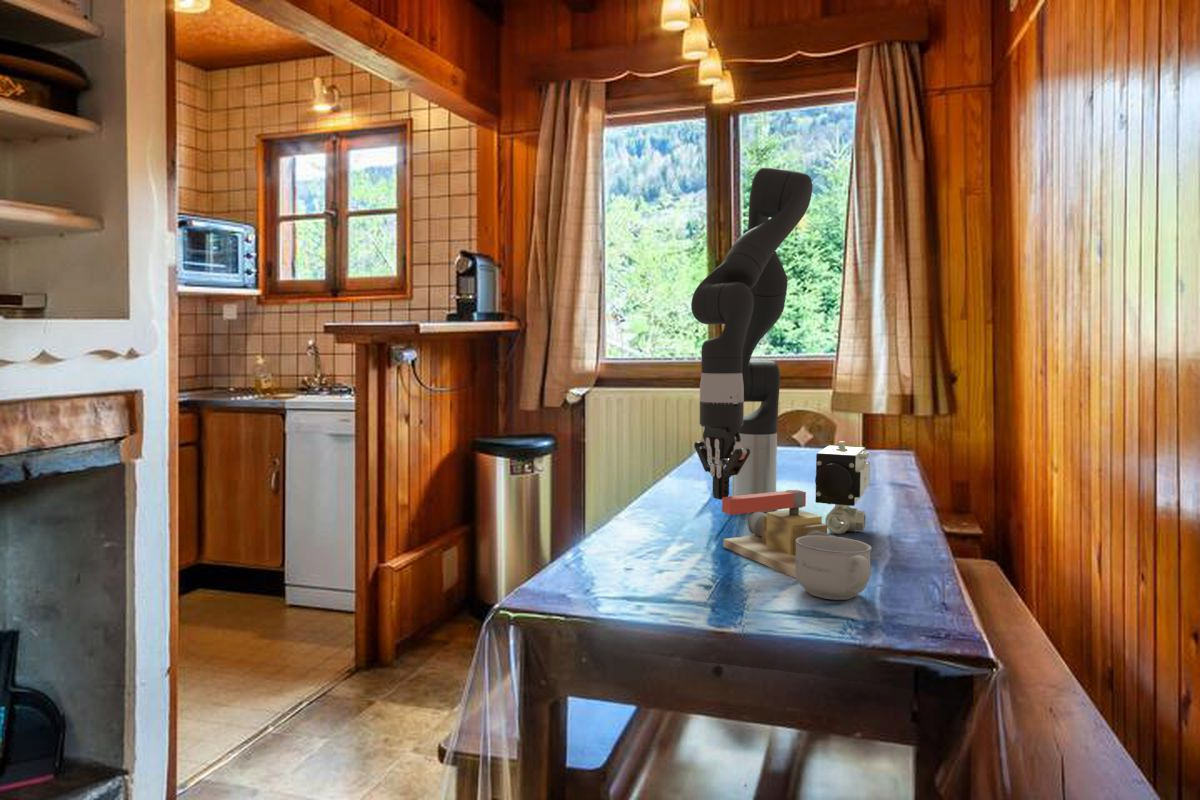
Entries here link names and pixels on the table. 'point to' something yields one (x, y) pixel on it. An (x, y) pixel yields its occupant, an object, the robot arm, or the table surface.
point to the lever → (763, 502)
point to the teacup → (832, 566)
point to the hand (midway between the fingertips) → (720, 498)
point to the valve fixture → (777, 537)
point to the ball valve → (842, 485)
